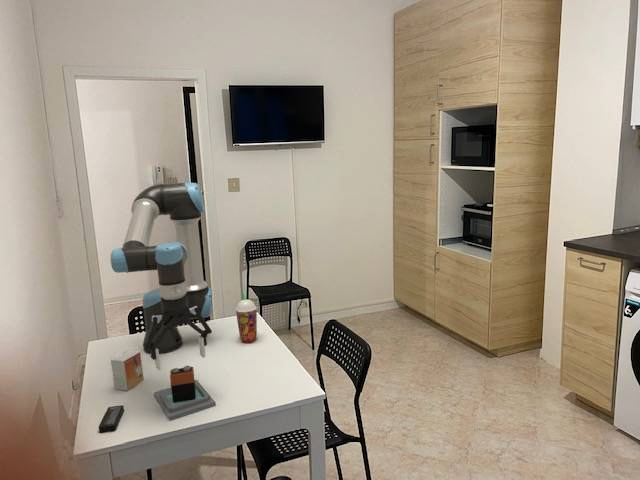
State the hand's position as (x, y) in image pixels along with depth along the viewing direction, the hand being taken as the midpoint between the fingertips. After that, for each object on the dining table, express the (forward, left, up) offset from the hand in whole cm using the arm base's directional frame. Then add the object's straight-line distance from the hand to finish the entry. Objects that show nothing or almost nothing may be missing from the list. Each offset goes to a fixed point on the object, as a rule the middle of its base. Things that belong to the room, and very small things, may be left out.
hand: (181, 362), depth 146 cm
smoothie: (-33, +36, -13) cm, 50 cm away
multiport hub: (-2, -21, -14) cm, 25 cm away
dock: (-1, 0, -13) cm, 13 cm away
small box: (-23, -12, -13) cm, 29 cm away
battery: (0, 0, -12) cm, 12 cm away
